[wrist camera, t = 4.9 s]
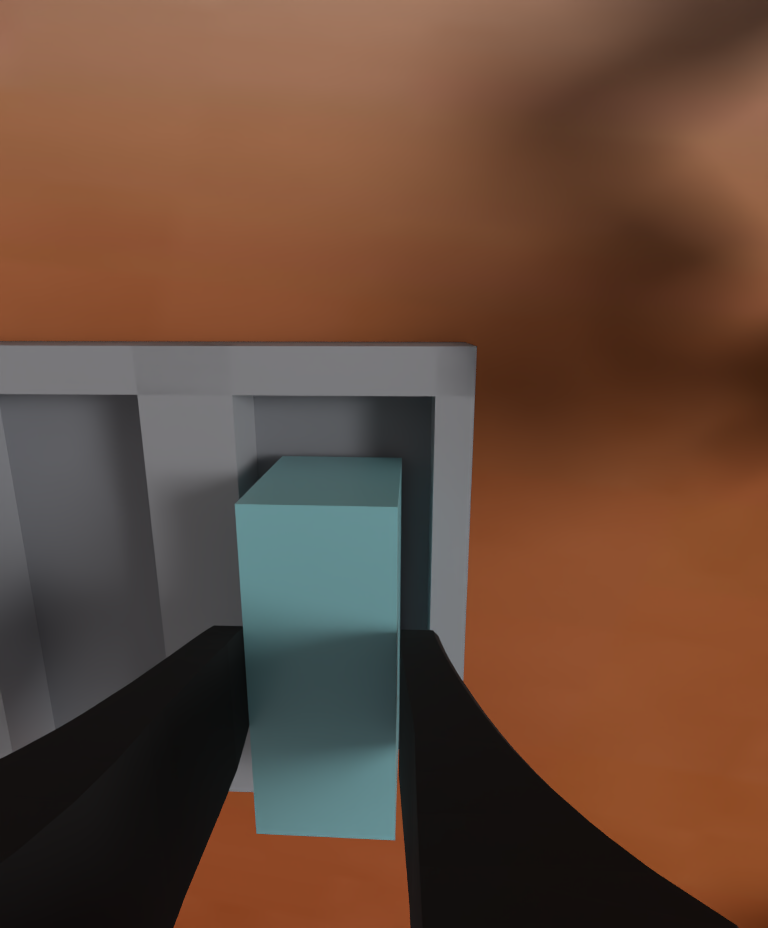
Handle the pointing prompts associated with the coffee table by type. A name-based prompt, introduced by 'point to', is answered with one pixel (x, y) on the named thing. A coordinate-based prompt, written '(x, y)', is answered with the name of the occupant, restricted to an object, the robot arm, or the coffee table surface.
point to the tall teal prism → (323, 643)
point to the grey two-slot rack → (199, 496)
